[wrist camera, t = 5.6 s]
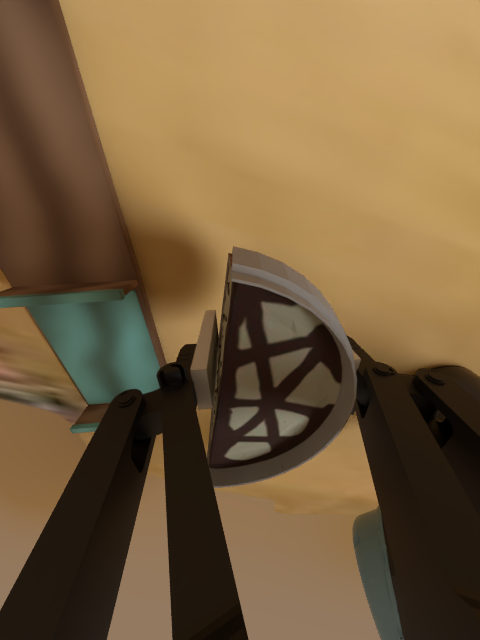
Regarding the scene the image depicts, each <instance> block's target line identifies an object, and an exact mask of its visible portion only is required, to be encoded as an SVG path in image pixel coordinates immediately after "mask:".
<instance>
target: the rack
mask: <svg viewBox="0 0 480 640" xmlns="http://www.w3.org/2000/svg"><path fill="white" fill-rule="evenodd" d="M0 268H1V270H2V271H3V273H4V275H5V276H6V278H7V279H8V281H9V282H10V284H11V286H12V288H10V289H7V290H4V291H1V292H0V308H7V307H23V306H25V307H26V309H27V311H28V312H29V314H30V315H31V317H32V318H33V320H34V322H35V323H36V325H37V326H38V328H39V329H40V331H41V333H42V334H43V336H44V337H45V339H46V340H47V342H48V343H49V345H50V347H51V348H52V350H53V351H54V353H55V354H56V356H57V358H58V359H59V361H60V362H61V364H62V365H63V367H64V369H65V370H66V372H67V373H68V375H69V376H70V378H71V379H72V381H73V383H74V384H75V386H76V387H77V389H78V390H79V392H80V394H81V395H82V397H83V398H84V400H85V401H86V403H87V405H88V406H87V407H86V409H85V410H84V412H83V413H82V414H81V416H80V417H79V419H78V420H77V421H76V423H75V424H74V425H73V426H72V427H71V428H70V430H71V432H72V433H82V432H94V431H96V429H97V427H98V426H99V424H100V422H101V420H102V418H103V416H104V414H105V412H106V411H107V409H108V407H109V405H110V403H111V401H112V400H113V399H114V398H115V397H116V396H117V395H118V394H120V393H122V392H123V391H125V390H129V389H138V390H141V392H142V394H145V393H148V392H151V391H154V390H157V389H159V388H160V386H159V383H158V380H157V377H156V375H157V372H158V371H159V369H160V368H161V367H163V366H164V365H166V361H165V357H164V354H163V351H162V347H161V344H160V340H159V337H158V334H157V330H156V327H155V324H154V320H153V317H152V313H151V310H150V307H149V303H148V300H147V297H146V293H145V290H144V287H143V283H142V280H141V276H140V273H139V270H138V266H137V263H136V260H135V256H134V253H133V249H132V246H131V243H130V239H129V236H128V233H127V229H126V226H125V223H124V219H123V216H122V212H121V209H120V206H119V202H118V199H117V196H116V192H115V189H114V185H113V182H112V179H111V175H110V172H109V169H108V165H107V162H106V159H105V155H104V152H103V148H102V145H101V142H100V138H99V135H98V132H97V128H96V125H95V122H94V118H93V115H92V111H91V108H90V105H89V101H88V98H87V95H86V91H85V88H84V84H83V81H82V78H81V74H80V71H79V68H78V64H77V61H76V58H75V54H74V51H73V47H72V44H71V41H70V37H69V34H68V31H67V27H66V24H65V20H64V17H63V14H62V10H61V7H60V4H59V0H0Z"/></svg>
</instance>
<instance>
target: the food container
mask: <svg viewBox="0 0 480 640" xmlns="http://www.w3.org/2000/svg"><path fill="white" fill-rule="evenodd" d="M356 391H357V376H356V371H355V363H354V358H353V352H352V348H351V345H350V343H349V341H348V338H347V336H346V334H345V331H344V329H343V327H342V325H341V323H340V321H339V320H338V318H337V316H336V314H335V312H334V310H333V308H332V307H331V305H330V304H329V303H328V301H327V300H326V299H325V297H324V296H323V294H322V293H321V292H320V291H319V290H318V289H317V288H316V287H315V286H314V285H313V284H312V283H311V282H310V281H309V280H308V279H306V278H305V277H304V276H303V275H301V274H300V273H298V272H297V271H295V270H294V269H292V268H291V267H289V266H287V265H286V264H284V263H283V262H280V261H278V260H275V259H273V258H271V257H268V256H266V255H263V254H261V253H259V252H255V251H251V250H246V249H242V248H238V247H234V246H233V251H232V254H231V253H229V254H228V263H227V272H226V280H225V289H224V297H223V306H222V315H221V323H220V332H219V344H218V355H217V367H216V378H215V389H214V400H213V408H212V412H211V422H210V433H209V444H208V452H207V461H208V465H209V470H210V474H211V479H212V483H213V487H214V488H221V487H231V486H239V485H244V484H250V483H255V482H258V481H262V480H266V479H270V478H272V477H275V476H278V475H281V474H283V473H286V472H288V471H290V470H292V469H294V468H296V467H299V466H300V465H302V464H304V463H305V462H307V461H309V460H310V459H312V458H313V457H315V456H316V455H317V454H319V453H320V452H321V451H322V450H324V449H325V448H326V447H327V446H328V445H329V444H330V443H331V442H332V441H333V440H334V439H335V438H336V437H337V435H338V434H339V433H340V431H341V430H342V429H343V427H344V426H345V424H346V422H347V420H348V418H349V416H350V414H351V412H352V410H353V406H354V402H355V399H356Z"/></svg>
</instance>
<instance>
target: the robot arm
mask: <svg viewBox="0 0 480 640" xmlns="http://www.w3.org/2000/svg"><path fill="white" fill-rule="evenodd" d="M346 336H347V335H346ZM347 338H348V341H349V343H350V345H351V348H352V352H353V358H354V363H355V371H356V376H357V391H356V399H355V402H354V406H353V410H352V412H351V415H353V414H354V411H355V410H356V414H357V418H358V422H359V426H360V430H361V434H362V438H363V442H364V446H365V450H366V454H367V458H368V462H369V466H370V470H371V474H372V479H373V483H374V487H375V491H376V495H377V499H378V503H379V506H378V507H377V509H374V510H372V511H369V512H367V513H364V514H361V515H359V516H358V517H357V518H356V519H355V521H354V524H353V543H354V549H355V554H356V559H357V564H358V568H359V572H360V576H361V579H362V583H363V587H364V590H365V594H366V597H367V600H368V603H369V607H370V610H371V612H372V616H373V619H374V621H375V624H376V627H377V630H378V633H379V635H380V638H381V640H480V377H479V376H478V375H476V374H475V373H473V372H472V371H470V370H468V369H466V368H463V367H456V366H450V367H441V368H436V369H433V370H431V369H419V370H418V371H417V372H416V374H415V376H411V375H405V374H398V373H397V372H396V371H395V369H393V368H392V367H390V366H388V365H386V364H384V363H379V362H375V361H374V360H373V359H372V358H371V357H370V356H369V355H368V354H367V353H366V352H365V351H364V350H363V349H362V348H361V347H360V346H359V345H358V344H357V343H356V342H355V341H354V340H353V339H352V338H350V337H349V336H347ZM218 344H219V337H218V328H217V319H216V310H207V311H205V315H204V318H203V322H202V326H201V330H200V334H199V338H198V342H197V344H186V345H184V346H183V347H182V348H181V349H180V352H179V355H178V357H177V361H176V362H173V363H169V364H166V365H164V366H163V367H161V368H160V369H159V371H158V372H157V375H156V377H157V380H158V383H159V386H160V388H159V389H157V390H154V391H151V392H148V393H145V394H142V392H141V390H138V389H129V390H125V391H123V392H122V393H120V394H118V395H117V396H116V397H115V398H114V399H113V400H112V401H111V403H110V405H109V407H108V409H107V411H106V412H105V414H104V416H103V418H102V420H101V422H100V424H99V426H98V427H97V429H96V431H95V433H94V435H93V437H92V439H91V441H90V443H89V444H88V446H87V449H86V450H85V452H84V454H83V456H82V458H81V460H80V461H79V463H78V465H77V467H76V469H75V471H74V473H73V475H72V477H71V478H70V480H69V482H68V484H67V486H66V488H65V490H64V492H63V494H62V495H61V497H60V499H59V501H58V503H57V505H56V507H55V508H54V511H53V512H52V514H51V516H50V518H49V520H48V522H47V524H46V525H45V527H44V529H43V531H42V533H41V535H40V537H39V539H38V541H37V542H36V544H35V546H34V548H33V550H32V552H31V554H30V556H29V557H28V559H27V561H26V563H25V565H24V567H23V569H22V571H21V573H20V574H19V576H18V578H17V580H16V582H15V584H14V586H13V588H12V590H11V591H10V594H9V595H8V597H7V599H6V601H5V603H4V605H3V607H2V608H1V610H0V640H107V636H108V631H109V628H110V624H111V620H112V615H113V611H114V607H115V603H116V599H117V595H118V591H119V587H120V582H121V578H122V574H123V570H124V565H125V562H126V558H127V553H128V549H129V545H130V541H131V537H132V533H133V529H134V525H135V521H136V516H137V512H138V508H139V504H140V500H141V496H142V492H143V487H144V483H145V479H146V475H147V471H148V467H149V463H150V459H151V454H152V450H153V446H154V442H155V438H156V435H159V434H161V433H163V450H164V471H165V490H166V512H167V532H168V550H169V551H168V552H169V574H170V595H171V616H172V637H173V640H248V636H247V631H246V627H245V623H244V619H243V614H242V610H241V605H240V601H239V597H238V592H237V588H236V584H235V579H234V575H233V570H232V566H231V562H230V557H229V553H228V549H227V544H226V540H225V535H224V531H223V527H222V523H221V518H220V514H219V509H218V505H217V501H216V496H215V492H214V487H213V483H212V479H211V474H210V470H209V465H208V461H207V457H206V452H205V448H204V444H203V439H202V435H201V431H200V426H199V422H198V417H197V413H196V407H197V405H198V409H212V408H213V400H214V389H215V378H216V367H217V355H218Z"/></svg>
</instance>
